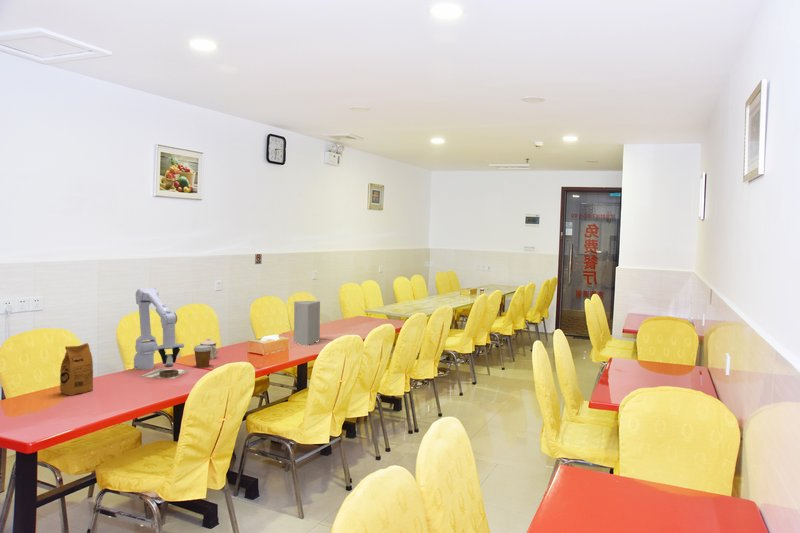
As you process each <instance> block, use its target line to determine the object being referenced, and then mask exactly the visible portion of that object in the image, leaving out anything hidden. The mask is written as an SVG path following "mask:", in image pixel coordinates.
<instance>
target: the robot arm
mask: <svg viewBox="0 0 800 533" xmlns="http://www.w3.org/2000/svg"><path fill="white" fill-rule="evenodd" d="M135 302H136V305H138V312H139V314H138V316H139V326H140V335H139V337H137V338H136V340H135V348H134V349H135V351H136V353H135V354H134V356H133V369H134V370H135V369H136V370H137V369H138V370H152V369H154V367H155V362H154V361H155V355H154V354H155V353H156V352H157V351H158V353H159V355H160V357H161V362H162V364H163V365H164V364H165V354H167V353H166V352H167V351H166V350H172V354H173V358H174V363H176V360H177V357H178V355H179V352H180V351H181V349H184V348H185V344H184V343H176V324H177V323H178V315H177V313H176V312H173V311H171V310H170V308H169V307H168V306H167V305H166V303H163V302H162V301H161V298H160V297H159V290H158V289H157V288H156V287H149V288H137V290H136V291H135ZM151 304H152V305H153V306H154V307H155V312H156V313H157V314H158V316H159V317H160V323H161V328H162V344H160V345H158V343H157V338H156V336H153V335H152V329H151V316H150V314H151V313H150V305H151ZM180 348H181V349H180Z"/></svg>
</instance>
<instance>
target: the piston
mask: <svg viewBox="0 0 800 533" xmlns="http://www.w3.org/2000/svg"><path fill="white" fill-rule="evenodd" d="M163 366H164V368H172V367H174V358H173V353H165V364H163Z"/></svg>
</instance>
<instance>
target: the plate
mask: <svg viewBox="0 0 800 533" xmlns="http://www.w3.org/2000/svg"><path fill="white" fill-rule="evenodd" d="M163 370H178V376H176V377H171V378H170V379H176V378H177V377H180V376H181V375H183V374H186V373H188V372H190V371H191V370H190V369H174V368H173V369H171V368H157V369H154V370H152V371H150V372H147V373H145V374H143V375H140V376H139V377H140V378H156V379H157V378H159V379H163V378H162V377H160V376H159V372H160V371H163Z"/></svg>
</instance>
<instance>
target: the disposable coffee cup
mask: <svg viewBox="0 0 800 533" xmlns="http://www.w3.org/2000/svg"><path fill="white" fill-rule="evenodd" d="M211 349H212V348H211V346H210V345H200V344H199V345H195V346H194V348H193V352H194V358H195V365H196V368H209V366H210V361H211V359H210V354H211Z"/></svg>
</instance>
